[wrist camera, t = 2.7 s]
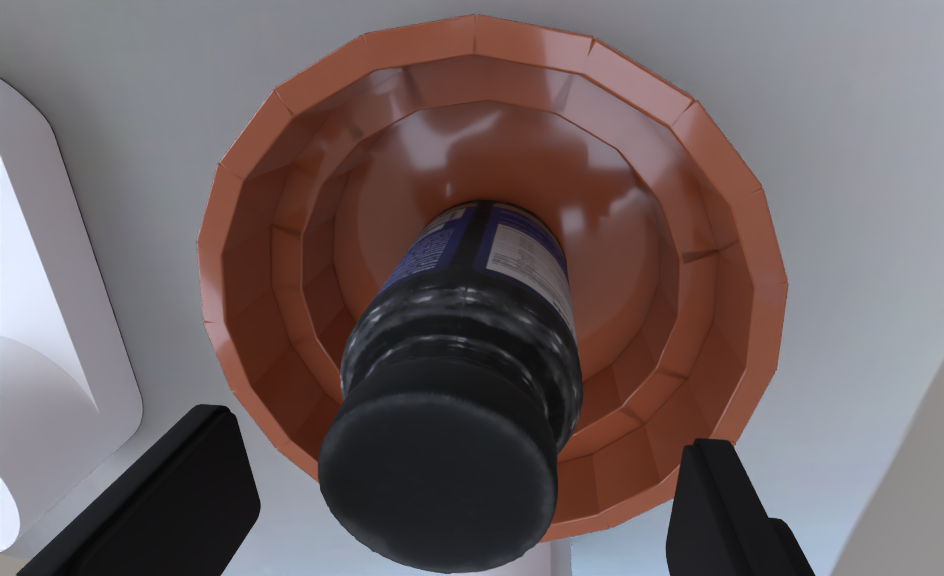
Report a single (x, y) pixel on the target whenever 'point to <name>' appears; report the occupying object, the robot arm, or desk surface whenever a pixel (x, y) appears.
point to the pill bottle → (458, 396)
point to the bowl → (526, 185)
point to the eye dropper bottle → (535, 562)
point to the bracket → (51, 332)
